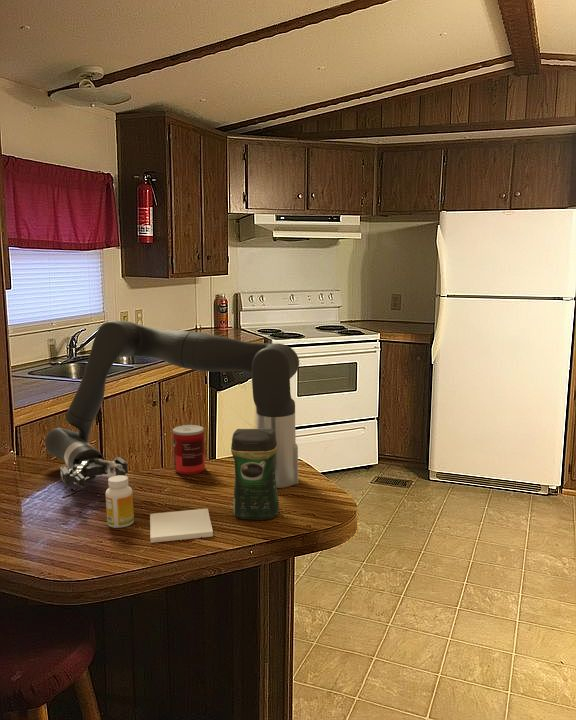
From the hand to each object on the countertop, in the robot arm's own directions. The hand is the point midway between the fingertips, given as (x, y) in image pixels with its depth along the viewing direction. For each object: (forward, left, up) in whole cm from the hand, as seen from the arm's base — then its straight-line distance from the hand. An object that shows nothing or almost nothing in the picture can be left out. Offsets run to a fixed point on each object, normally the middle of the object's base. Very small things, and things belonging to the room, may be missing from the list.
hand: (103, 479), depth 145 cm
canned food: (-20, -20, -6) cm, 29 cm away
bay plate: (-16, +15, -6) cm, 23 cm away
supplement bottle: (-4, +10, -6) cm, 13 cm away
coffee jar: (-32, +12, -6) cm, 35 cm away
